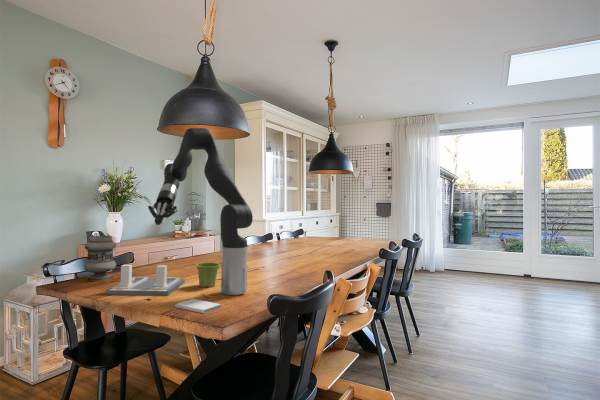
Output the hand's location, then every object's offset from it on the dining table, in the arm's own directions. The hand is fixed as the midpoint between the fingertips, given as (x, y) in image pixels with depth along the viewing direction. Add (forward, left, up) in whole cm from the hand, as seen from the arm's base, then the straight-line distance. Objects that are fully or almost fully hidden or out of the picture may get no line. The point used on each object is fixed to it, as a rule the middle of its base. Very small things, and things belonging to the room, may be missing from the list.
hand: (157, 223), depth 153 cm
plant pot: (-24, +8, -24) cm, 35 cm away
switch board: (-2, +13, -24) cm, 28 cm away
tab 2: (-9, +18, -22) cm, 30 cm away
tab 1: (+4, +18, -22) cm, 29 cm away
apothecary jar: (+24, -2, -24) cm, 35 cm away
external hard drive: (-27, +37, -25) cm, 53 cm away
